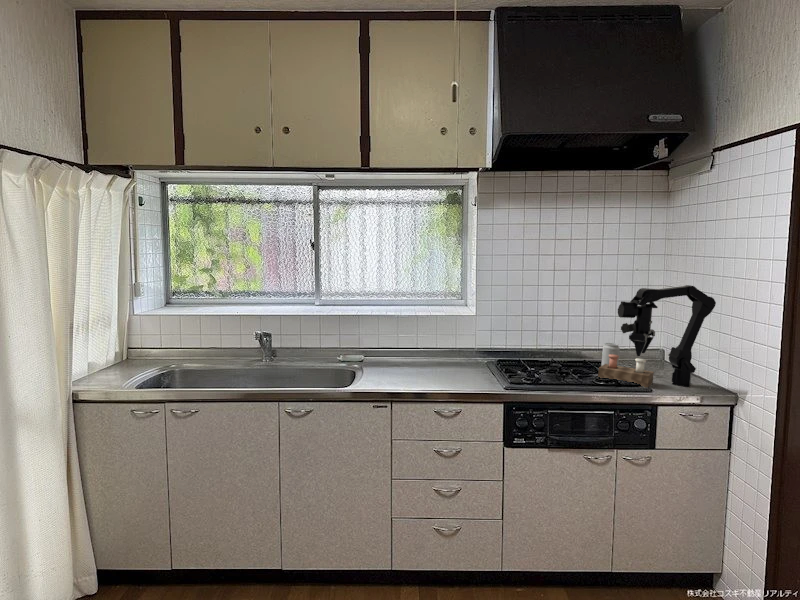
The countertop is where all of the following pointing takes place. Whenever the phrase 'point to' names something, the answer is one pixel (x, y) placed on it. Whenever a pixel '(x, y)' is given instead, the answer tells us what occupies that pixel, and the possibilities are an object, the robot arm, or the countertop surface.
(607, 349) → the can
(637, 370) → the cream plug
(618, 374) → the socket board
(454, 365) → the countertop surface
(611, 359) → the brick plug
